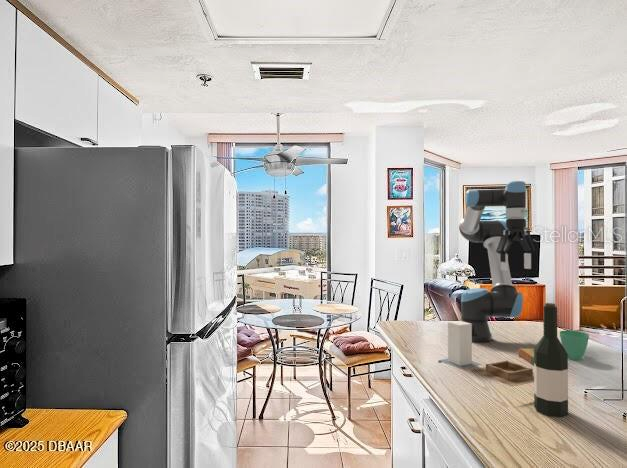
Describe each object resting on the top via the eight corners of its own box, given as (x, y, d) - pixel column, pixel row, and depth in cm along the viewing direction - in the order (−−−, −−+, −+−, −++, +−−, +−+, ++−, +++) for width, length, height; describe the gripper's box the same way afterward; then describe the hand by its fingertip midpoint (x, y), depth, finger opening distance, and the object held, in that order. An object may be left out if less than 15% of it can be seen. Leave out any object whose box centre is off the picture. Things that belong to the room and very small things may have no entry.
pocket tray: (469, 371, 148) (469, 362, 148) (505, 365, 155) (505, 356, 155) (512, 388, 132) (512, 378, 132) (550, 380, 139) (550, 370, 139)
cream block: (448, 361, 158) (448, 322, 158) (460, 359, 160) (459, 320, 160) (459, 365, 153) (459, 325, 153) (471, 363, 155) (471, 323, 155)
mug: (591, 363, 156) (591, 337, 157) (561, 360, 161) (561, 334, 161) (584, 353, 170) (584, 329, 170) (556, 350, 174) (556, 327, 174)
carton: (539, 359, 164) (539, 348, 164) (561, 372, 148) (561, 360, 148) (518, 358, 164) (518, 347, 164) (537, 372, 148) (537, 360, 148)
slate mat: (438, 362, 159) (438, 360, 159) (460, 358, 164) (460, 356, 164) (459, 370, 149) (459, 368, 149) (481, 366, 154) (481, 364, 154)
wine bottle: (527, 405, 119) (527, 301, 119) (555, 404, 120) (554, 301, 120) (546, 417, 111) (545, 306, 111) (575, 416, 111) (574, 305, 112)
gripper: (501, 217, 163) (502, 271, 163) (544, 218, 174) (544, 268, 174) (486, 218, 170) (487, 269, 170) (528, 219, 180) (529, 267, 180)
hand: (516, 269), depth 172 cm, fingers open, 13 cm apart
